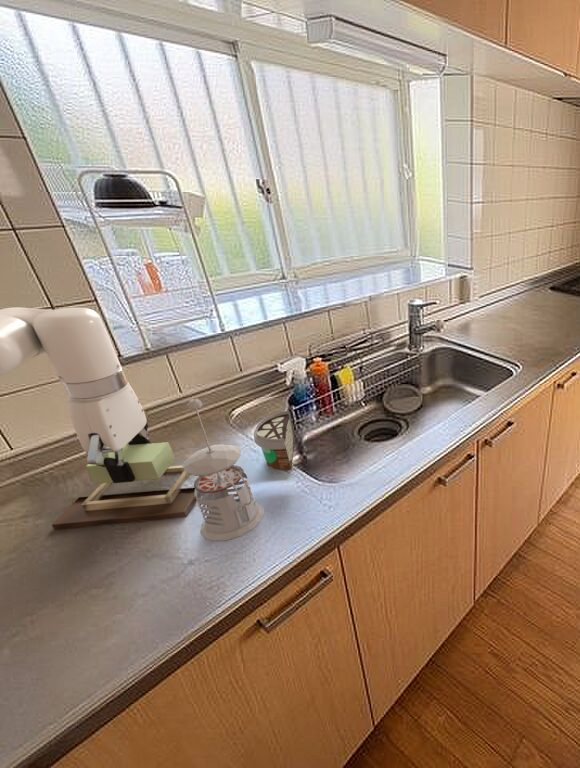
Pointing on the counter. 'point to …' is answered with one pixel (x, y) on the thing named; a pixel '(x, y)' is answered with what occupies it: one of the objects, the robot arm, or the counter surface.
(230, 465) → the french press
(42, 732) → the counter surface
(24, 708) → the counter surface
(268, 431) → the food container
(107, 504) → the back board
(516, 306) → the counter surface
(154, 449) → the green rectangular block
